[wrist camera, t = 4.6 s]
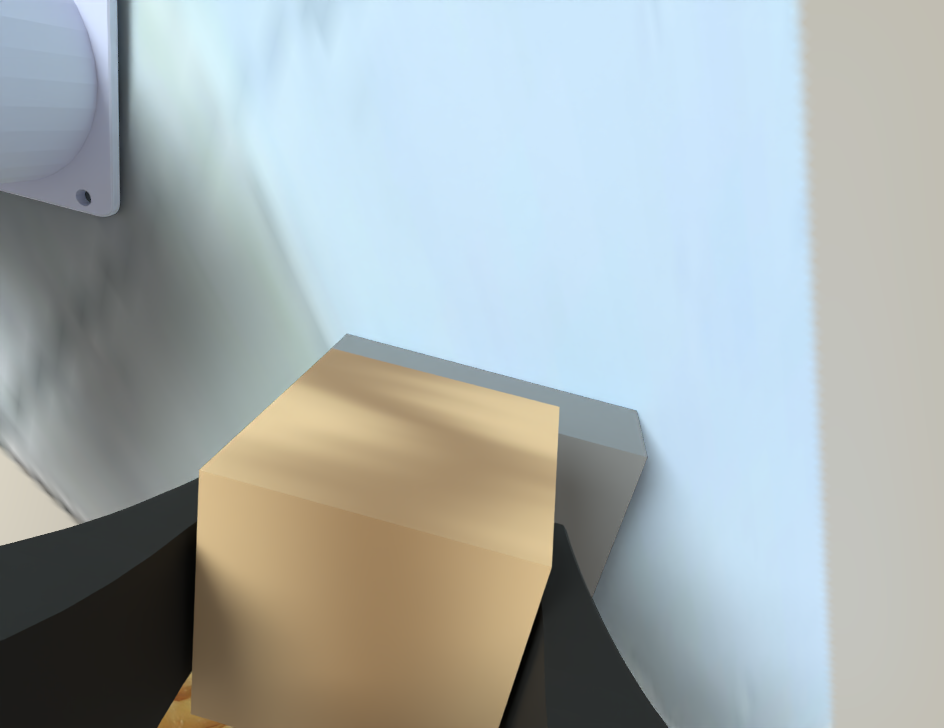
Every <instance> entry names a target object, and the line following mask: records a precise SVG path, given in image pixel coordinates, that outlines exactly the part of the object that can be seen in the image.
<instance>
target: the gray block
mask: <svg viewBox="0 0 944 728" xmlns="http://www.w3.org/2000/svg"><path fill="white" fill-rule="evenodd" d="M332 348H333V349H337V350H341V351H345V352H349V353H352V354H356V355H360V356H364V357H368V358H372V359H376V360H380V361H383V362H387V363H391V364H395V365H399V366H403V367H407V368H411V369H414V370H418V371H422V372H426V373H430V374H434V375H438V376H442V377H445V378H449V379H453V380H457V381H461V382H465V383H469V384H473V385H477V386H480V387H484V388H488V389H492V390H496V391H500V392H504V393H508V394H511V395H515V396H519V397H523V398H527V399H531V400H535V401H539V402H542V403H546V404H550V405H554V406H558V407H559V428H558V449H557V470H556V490H555V511H554V522H555V523H559V524H562V525H564V527H565V529H566V530H567V533H568V537H569V540H570V543H571V546H572V549H573V552H574V555H575V557H576V560H577V563H578V565H579V568H580V571H581V573H582V576H583V578H584V581H585V583H586V585H587V588H588V590H589V592H590V594H591V597H593V594H594V592H595V589H596V586H597V584H598V581H599V579H600V576H601V574H602V571H603V569H604V566H605V564H606V561H607V559H608V556H609V553H610V551H611V548H612V546H613V543H614V541H615V538H616V536H617V533H618V531H619V528H620V526H621V523H622V520H623V518H624V515H625V513H626V510H627V508H628V505H629V503H630V500H631V498H632V495H633V493H634V490H635V487H636V485H637V482H638V480H639V477H640V475H641V472H642V470H643V467H644V465H645V462H646V460H647V453H646V449H645V444H644V440H643V436H642V431H641V427H640V423H639V418H638V414H637V411H636V410H632V409H628V408H624V407H620V406H617V405H613V404H609V403H605V402H602V401H598V400H594V399H590V398H587V397H583V396H579V395H575V394H571V393H568V392H564V391H560V390H556V389H553V388H549V387H545V386H541V385H538V384H534V383H530V382H526V381H523V380H519V379H515V378H511V377H507V376H504V375H500V374H496V373H492V372H489V371H485V370H481V369H477V368H474V367H470V366H466V365H462V364H459V363H455V362H451V361H447V360H443V359H440V358H436V357H432V356H428V355H425V354H421V353H417V352H413V351H410V350H406V349H402V348H398V347H394V346H391V345H387V344H383V343H379V342H376V341H372V340H368V339H364V338H361V337H357V336H353V335H349V334H346V335H345V336H344V337H343V338H342V339H341V340H340V341H339V342H338V343H337V344H335V345H334V346H333V347H332ZM332 348H331V349H332ZM331 349H330V350H331ZM318 361H319V360H318Z"/></svg>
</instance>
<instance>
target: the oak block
mask: <svg viewBox="0 0 944 728" xmlns="http://www.w3.org/2000/svg"><path fill="white" fill-rule="evenodd" d="M558 428H559V407H558V406H554V405H550V404H546V403H542V402H539V401H535V400H531V399H527V398H523V397H519V396H515V395H511V394H508V393H504V392H500V391H496V390H492V389H488V388H484V387H480V386H477V385H473V384H469V383H465V382H461V381H457V380H453V379H449V378H445V377H442V376H438V375H434V374H430V373H426V372H422V371H418V370H414V369H411V368H407V367H403V366H399V365H395V364H391V363H387V362H383V361H380V360H376V359H372V358H368V357H364V356H360V355H356V354H352V353H349V352H345V351H341V350H337V349H333V348H332V349H331V350H329V351H328V352H327V353H326V354H325V355H324V356H323V357H322V358H321V359H320V360H319V361H317V362H316V363H315V364H314V365H313V366H312V367H311V368H310V369H309V370H308V371H307V372H305V373H304V374H303V375H302V376H301V377H300V378H299V379H298V380H297V381H296V382H295V383H293V384H292V385H291V386H290V387H289V388H288V389H287V390H286V391H285V392H284V393H283V394H281V395H280V396H279V397H278V398H277V399H276V400H275V401H274V402H273V403H272V404H271V405H269V406H268V407H267V408H266V409H265V410H264V411H263V412H262V413H261V414H260V415H259V416H257V417H256V418H255V419H254V420H253V421H252V422H251V423H250V424H249V425H248V426H247V427H245V428H244V429H243V430H242V431H241V432H240V433H239V434H238V435H237V436H236V437H235V438H233V439H232V440H231V441H230V442H229V443H228V444H227V445H226V446H225V447H224V448H223V449H221V450H220V451H219V452H218V453H217V454H216V455H215V456H214V457H213V458H212V459H211V460H209V461H208V462H207V463H206V464H205V465H204V466H203V467H202V468H201V469H200V470H199V489H198V517H197V546H196V574H195V603H194V631H193V660H192V688H191V714H192V715H195V716H199V717H202V718H205V719H209V720H212V721H215V722H218V723H222V724H225V725H228V726H232V727H235V728H499V725H500V722H501V719H502V716H503V713H504V710H505V707H506V704H507V701H508V698H509V695H510V692H511V689H512V686H513V683H514V680H515V677H516V674H517V671H518V668H519V665H520V662H521V659H522V655H523V652H524V649H525V646H526V643H527V640H528V637H529V634H530V631H531V628H532V625H533V622H534V619H535V616H536V613H537V610H538V607H539V604H540V601H541V598H542V595H543V592H544V589H545V586H546V583H547V580H548V577H549V574H550V571H551V568H552V552H553V532H554V511H555V490H556V470H557V449H558Z"/></svg>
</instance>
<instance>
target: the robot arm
mask: <svg viewBox="0 0 944 728" xmlns="http://www.w3.org/2000/svg"><path fill="white" fill-rule="evenodd" d="M0 191H3V192H7V193H11V194H15V195H18V196H22V197H26V198H30V199H34V200H38V201H41V202H45V203H49V204H53V205H57V206H61V207H64V208H68V209H72V210H76V211H80V212H84V213H88V214H91V215H95V216H99V217H107V216H112V215H114V214H116V213H117V211H118V210H119V206H120V173H119V103H118V32H117V0H0ZM85 191H87V192H88V193H89V194H90V197H91V203H89V202H88V201H87V199H86V197H85ZM198 489H199V478H197V479H195V480H193V481H190V482H188V483H186V484H184V485H182V486H179V487H177V488H175V489H172V490H170V491H168V492H165V493H163V494H160V495H158V496H156V497H153V498H151V499H148V500H146V501H144V502H141V503H139V504H136V505H134V506H131V507H129V508H126V509H123V510H121V511H118V512H115V513H112V514H110V515H107V516H104V517H101V518H98V519H95V520H92V521H89V522H85V523H82V524H79V525H76V526H73V527H70V528H66V529H63V530H59V531H55V532H52V533H48V534H44V535H40V536H36V537H33V538H29V539H25V540H21V541H18V542H14V543H10V544H6V545H2V546H0V728H157V727H158V726H159V724H160V722H161V721H162V719H163V717H164V716H165V714H166V712H167V711H168V709H169V707H170V706H171V704H172V702H173V701H174V699H175V697H176V696H177V694H178V692H179V691H180V689H181V687H182V686H183V684H184V683H185V681H186V680H187V678H188V677H189V675H190V674H191V672H192V660H193V631H194V603H195V574H196V546H197V517H198ZM499 728H668V726H667V725H666V724H665V722H664V721H663V720H662V718H661V717H660V716H659V714H658V713H657V712H656V710H655V709H654V708H653V706H652V705H651V703H650V702H649V700H648V699H647V697H646V696H645V694H644V693H643V691H642V690H641V688H640V687H639V685H638V683H637V682H636V680H635V678H634V677H633V675H632V674H631V672H630V670H629V669H628V667H627V665H626V664H625V662H624V660H623V658H622V657H621V655H620V653H619V651H618V649H617V648H616V646H615V644H614V642H613V640H612V638H611V636H610V634H609V632H608V631H607V629H606V627H605V625H604V623H603V621H602V619H601V616H600V614H599V612H598V610H597V608H596V606H595V603H594V601H593V599H592V597H591V594H590V592H589V590H588V588H587V585H586V583H585V581H584V578H583V576H582V573H581V571H580V568H579V565H578V563H577V560H576V557H575V555H574V552H573V549H572V546H571V543H570V540H569V537H568V533H567V530H566V529H565V527H564V525H562V524H559V523H555V522H554V532H553V552H552V568H551V571H550V574H549V577H548V580H547V583H546V586H545V589H544V592H543V595H542V598H541V601H540V604H539V607H538V610H537V613H536V616H535V619H534V622H533V625H532V628H531V631H530V634H529V637H528V640H527V643H526V646H525V649H524V652H523V655H522V659H521V662H520V665H519V668H518V671H517V674H516V677H515V680H514V683H513V686H512V689H511V692H510V695H509V698H508V701H507V704H506V707H505V710H504V713H503V716H502V719H501V722H500V725H499Z"/></svg>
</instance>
